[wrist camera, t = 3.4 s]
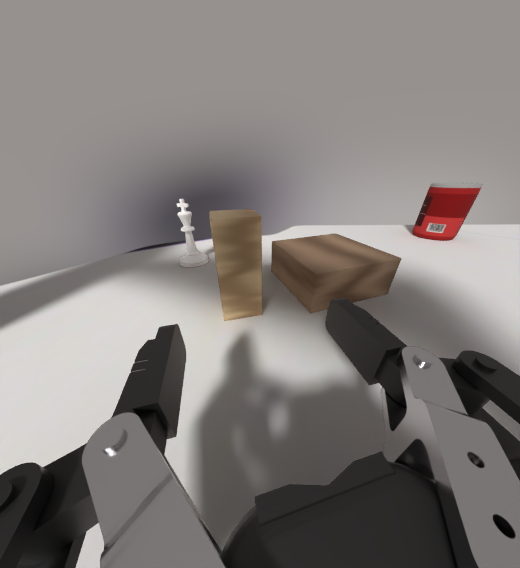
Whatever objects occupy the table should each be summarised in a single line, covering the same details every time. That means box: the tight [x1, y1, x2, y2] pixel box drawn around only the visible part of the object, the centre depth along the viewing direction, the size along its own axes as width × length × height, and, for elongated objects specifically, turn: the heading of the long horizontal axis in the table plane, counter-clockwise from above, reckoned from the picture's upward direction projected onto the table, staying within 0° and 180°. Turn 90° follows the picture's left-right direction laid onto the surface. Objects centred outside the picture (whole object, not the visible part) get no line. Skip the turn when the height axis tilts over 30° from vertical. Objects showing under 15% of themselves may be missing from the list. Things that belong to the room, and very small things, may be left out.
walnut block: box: [271, 234, 401, 313], centre depth 25 cm, size 11×11×5 cm
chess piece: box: [177, 199, 209, 267], centre depth 30 cm, size 5×5×10 cm
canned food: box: [413, 183, 482, 241], centre depth 41 cm, size 8×8×11 cm
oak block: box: [210, 209, 262, 321], centre depth 19 cm, size 4×4×10 cm
